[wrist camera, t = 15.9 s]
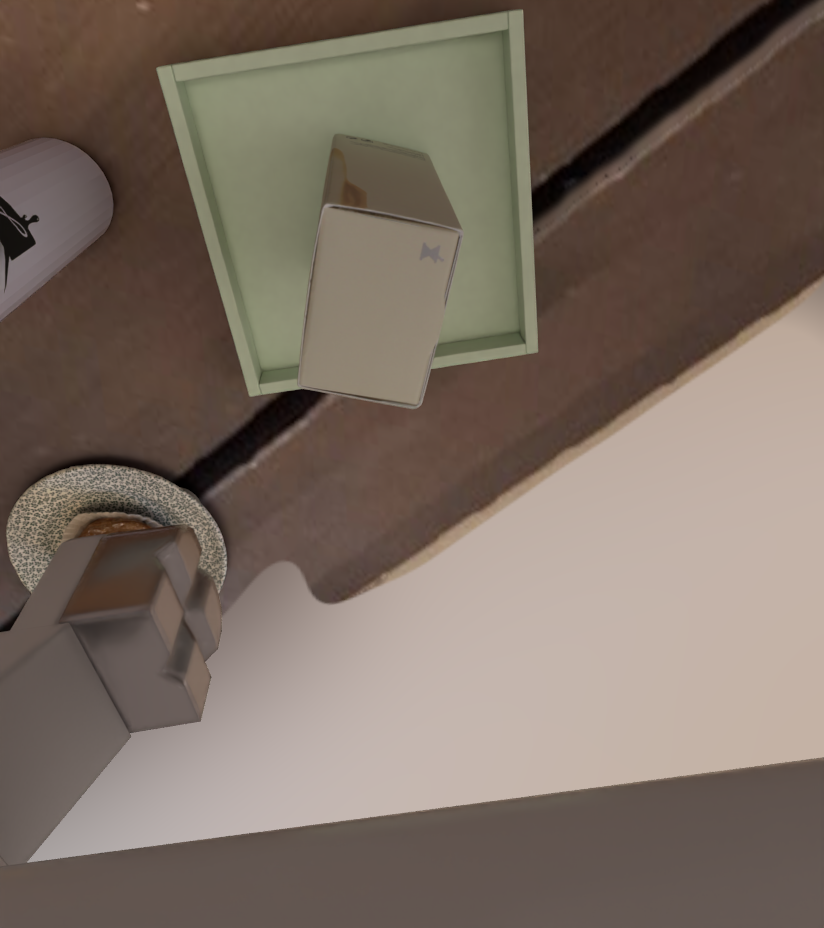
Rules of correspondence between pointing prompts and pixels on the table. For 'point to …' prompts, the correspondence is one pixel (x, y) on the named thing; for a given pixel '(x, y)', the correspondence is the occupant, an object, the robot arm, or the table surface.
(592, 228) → the table surface
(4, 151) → the perfume bottle
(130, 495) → the grey speckled shallow bowl
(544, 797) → the robot arm
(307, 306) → the cosmetic box
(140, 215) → the table surface
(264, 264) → the tray
